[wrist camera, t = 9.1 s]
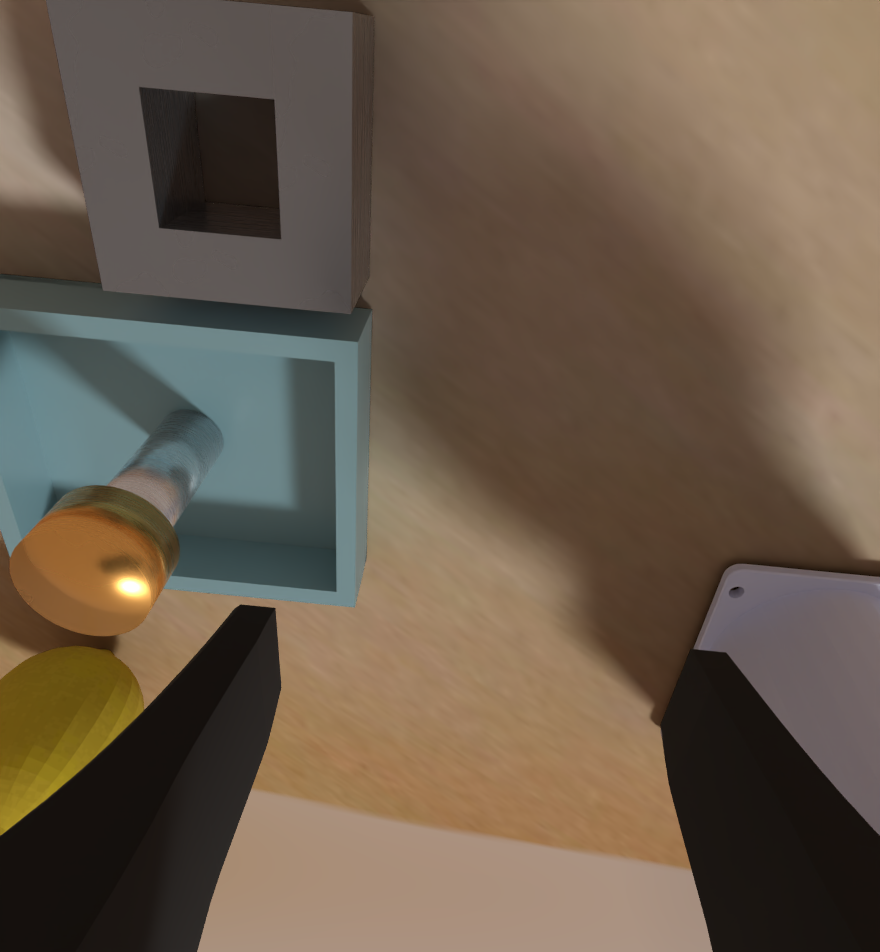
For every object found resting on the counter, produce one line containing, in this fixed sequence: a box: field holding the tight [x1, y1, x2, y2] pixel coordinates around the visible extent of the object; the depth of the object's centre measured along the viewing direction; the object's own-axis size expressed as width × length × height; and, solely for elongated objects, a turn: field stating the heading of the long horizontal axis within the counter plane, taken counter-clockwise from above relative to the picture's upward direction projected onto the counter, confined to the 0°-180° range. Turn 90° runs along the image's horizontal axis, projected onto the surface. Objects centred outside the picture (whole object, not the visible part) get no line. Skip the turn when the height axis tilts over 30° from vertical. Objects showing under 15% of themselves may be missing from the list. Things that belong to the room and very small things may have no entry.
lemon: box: [0, 646, 144, 835], centre depth 24 cm, size 6×6×8 cm
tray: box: [0, 274, 372, 607], centre depth 21 cm, size 9×11×2 cm
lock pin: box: [9, 409, 224, 636], centre depth 19 cm, size 3×3×7 cm
